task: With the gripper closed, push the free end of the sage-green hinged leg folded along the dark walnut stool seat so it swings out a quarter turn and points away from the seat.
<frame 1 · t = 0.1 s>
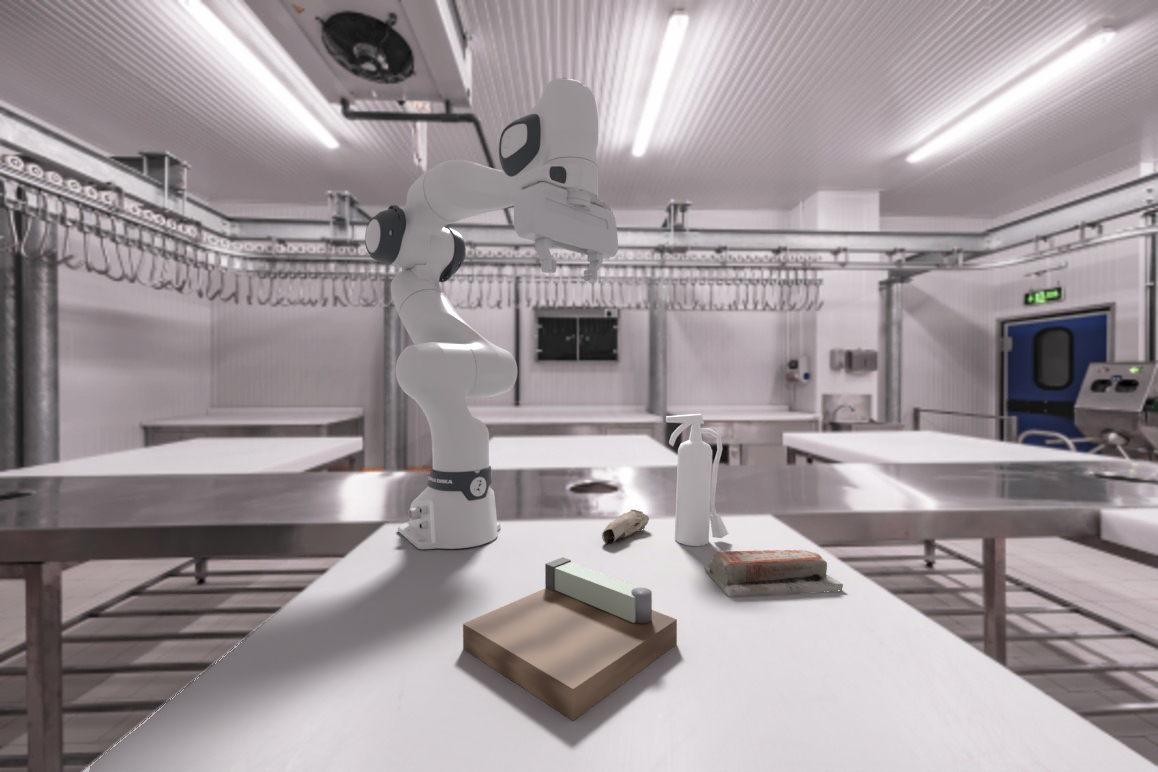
hand: (570, 277, 77), 48 cm above the table, tool pointing down, fingers open, 8 cm apart
stool seat: (570, 646, 58), on the table
packaged product: (770, 585, 77), on the table
hinged leg: (597, 589, 63), point 5 cm above the table, hinge at 0.0°, touching stool seat
fire extinguisher: (697, 542, 96), on the table
bone fragment: (626, 538, 99), on the table
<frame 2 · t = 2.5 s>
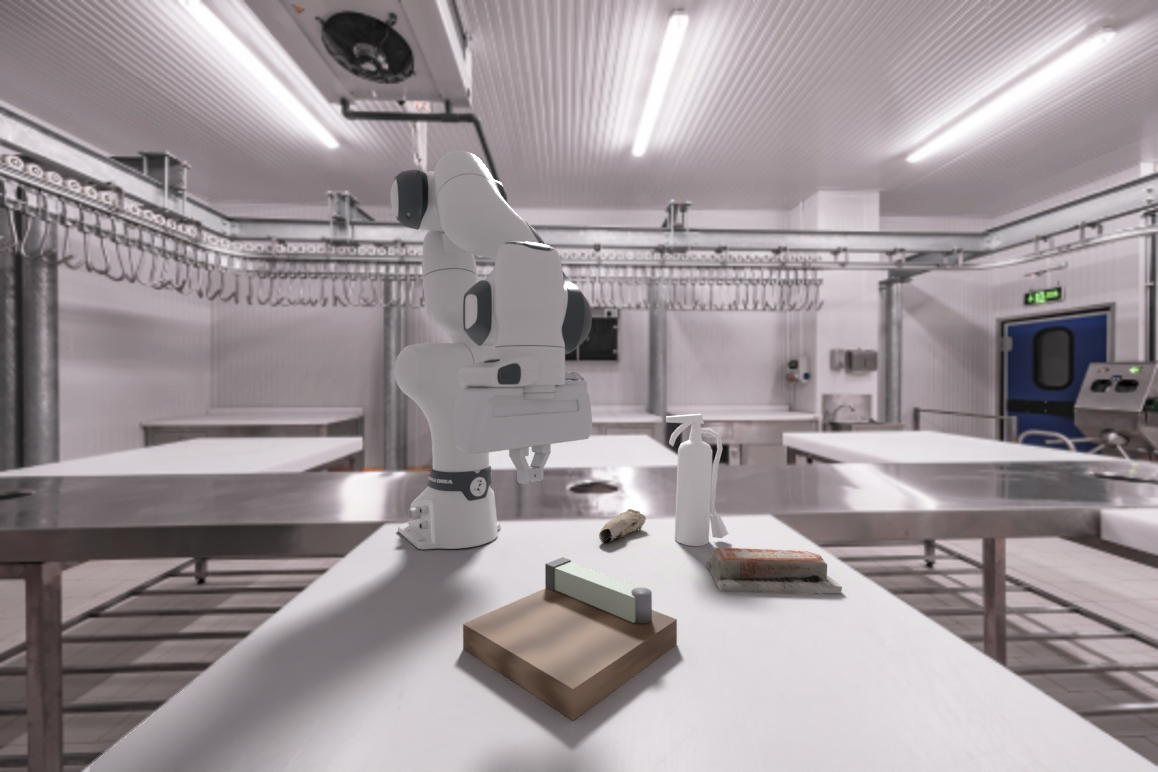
hand: (530, 481, 61), 19 cm above the table, tool pointing down, fingers closed
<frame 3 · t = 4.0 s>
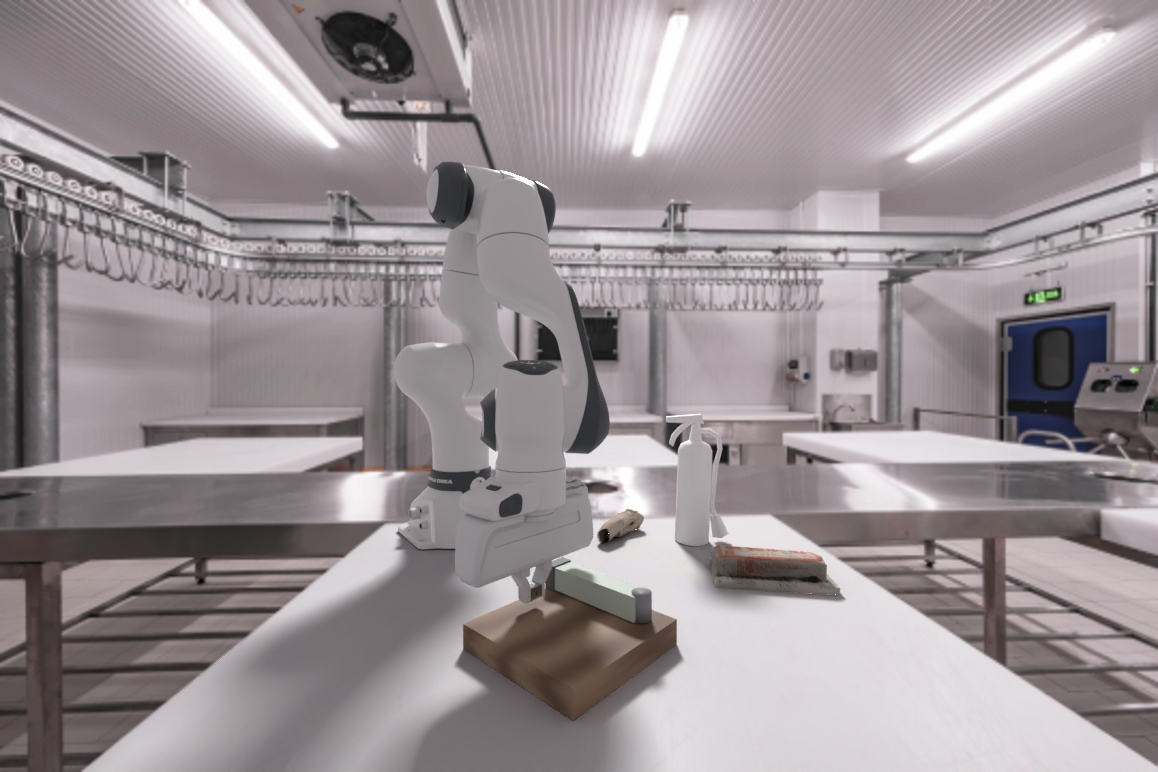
hand: (531, 598, 62), 4 cm above the table, tool pointing down, fingers closed
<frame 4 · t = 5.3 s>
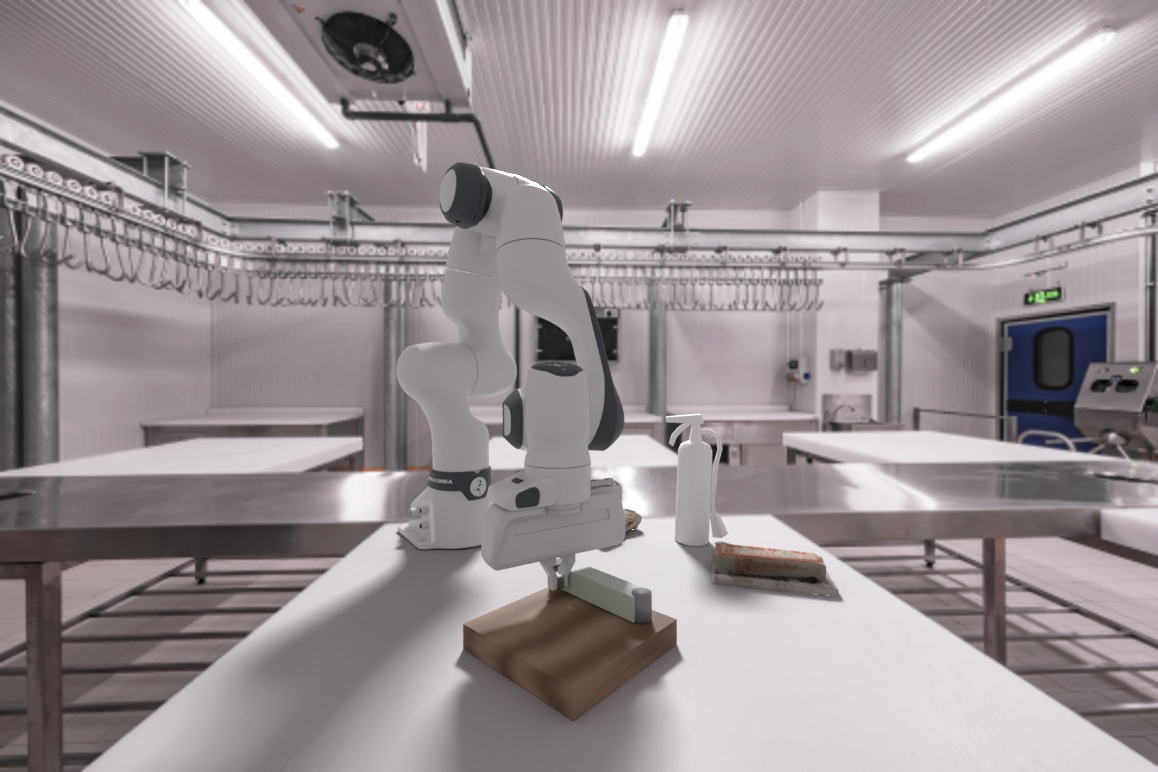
hand: (557, 588, 65), 4 cm above the table, tool pointing down, fingers closed
hinged leg: (599, 588, 64), point 5 cm above the table, hinge at 3.2°, touching gripper, stool seat
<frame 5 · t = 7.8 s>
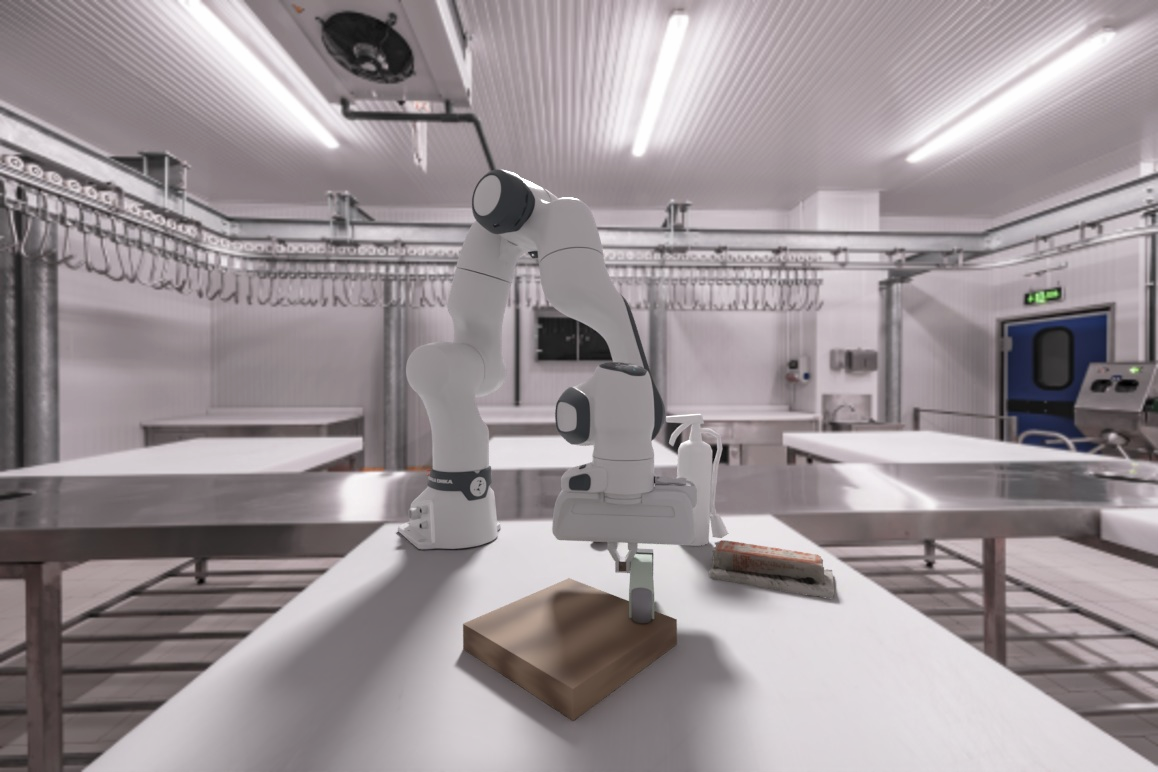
hand: (622, 571, 71), 4 cm above the table, tool pointing down, fingers closed
hinged leg: (641, 582, 65), point 5 cm above the table, hinge at 54.3°, touching gripper
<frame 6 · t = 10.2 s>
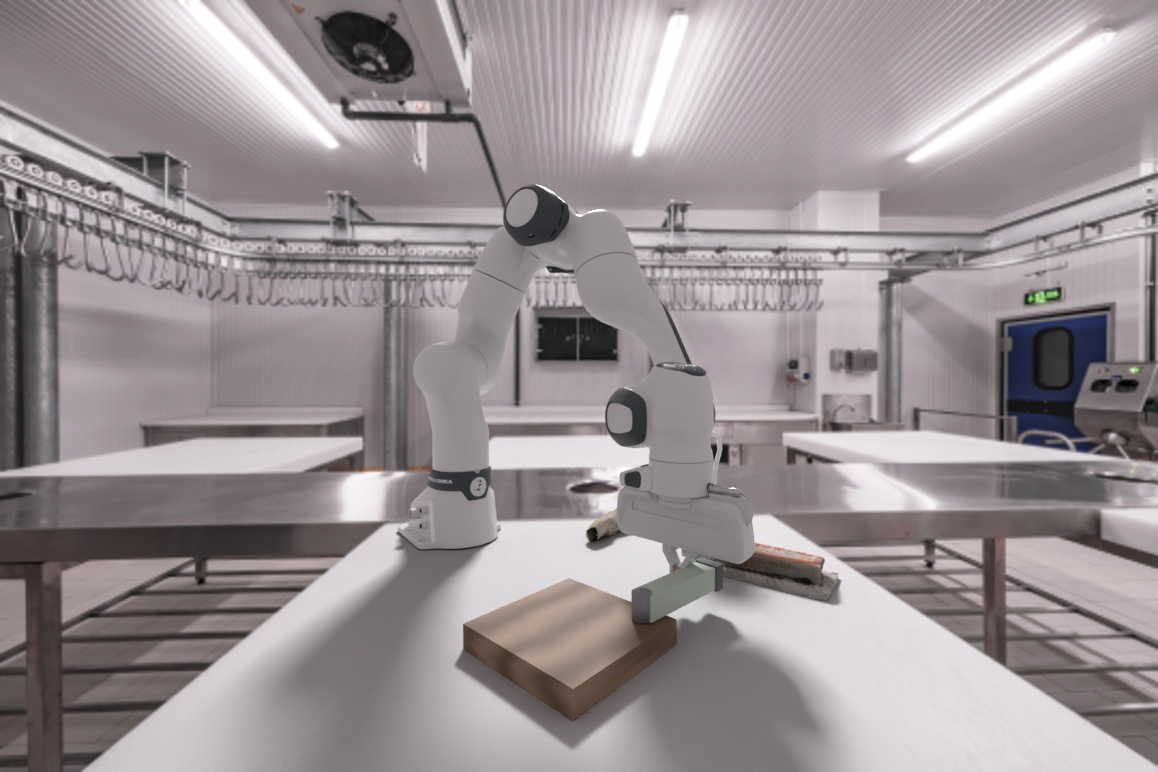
hand: (680, 577, 69), 4 cm above the table, tool pointing down, fingers closed
hinged leg: (676, 589, 63), point 5 cm above the table, hinge at 95.1°, touching gripper
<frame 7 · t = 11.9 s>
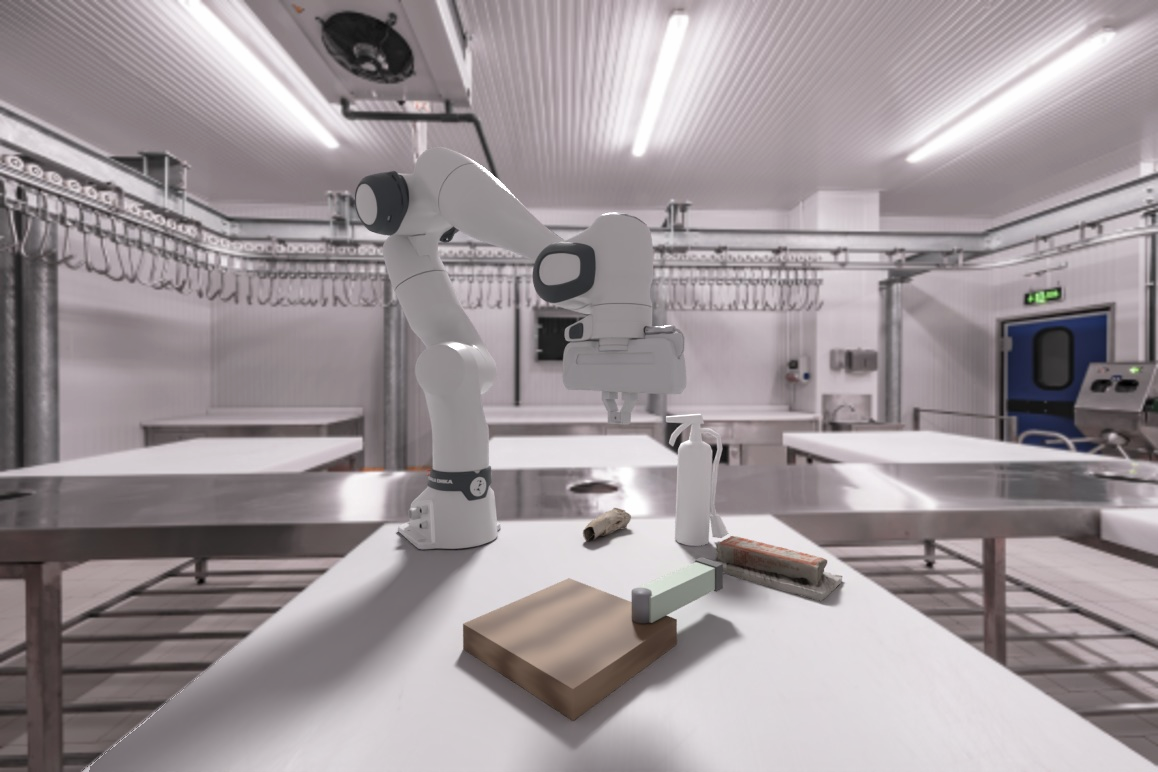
hand: (619, 423, 71), 25 cm above the table, tool pointing down, fingers closed
hinged leg: (676, 589, 63), point 5 cm above the table, hinge at 95.0°
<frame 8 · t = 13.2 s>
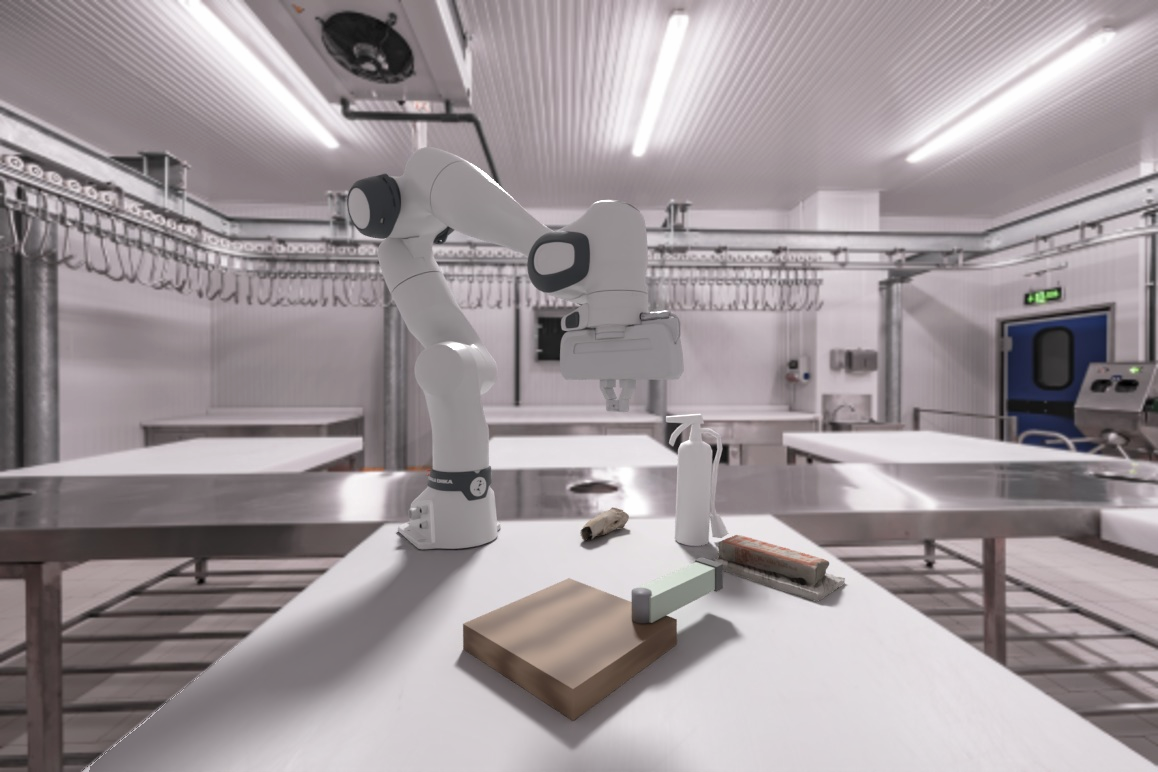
hand: (617, 411, 71), 27 cm above the table, tool pointing down, fingers closed
at the end: hinged leg at +95° (first picture: +0°) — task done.
